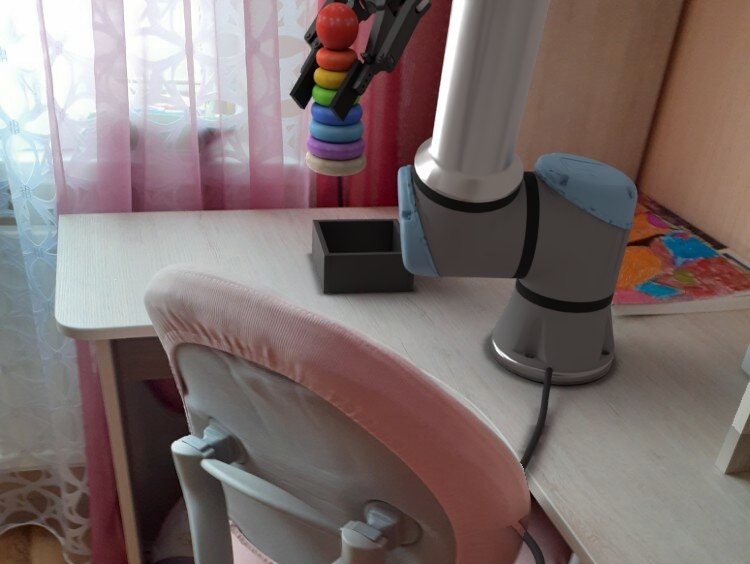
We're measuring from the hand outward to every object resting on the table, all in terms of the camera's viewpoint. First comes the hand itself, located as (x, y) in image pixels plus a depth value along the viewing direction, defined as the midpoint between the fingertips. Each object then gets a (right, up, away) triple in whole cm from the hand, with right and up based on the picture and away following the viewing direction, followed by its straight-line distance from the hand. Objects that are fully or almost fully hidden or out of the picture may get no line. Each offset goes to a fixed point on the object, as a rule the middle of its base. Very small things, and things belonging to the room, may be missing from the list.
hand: (316, 107), depth 103 cm
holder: (+5, -15, +19) cm, 25 cm away
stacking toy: (+2, -5, +7) cm, 9 cm away
